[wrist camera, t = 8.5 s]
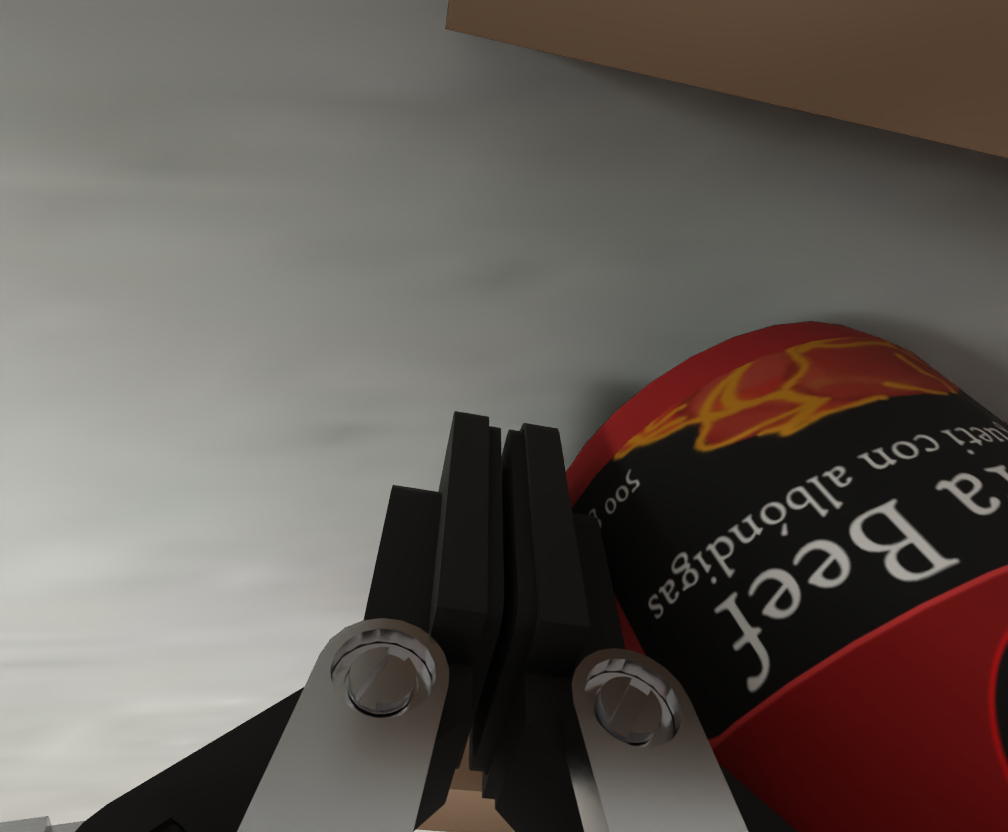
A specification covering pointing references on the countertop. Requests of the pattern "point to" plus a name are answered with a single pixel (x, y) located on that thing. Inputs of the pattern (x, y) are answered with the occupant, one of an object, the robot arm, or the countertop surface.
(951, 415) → the canned food
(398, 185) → the countertop surface
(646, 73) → the walnut holder
